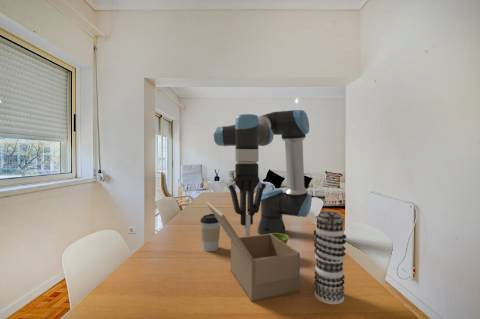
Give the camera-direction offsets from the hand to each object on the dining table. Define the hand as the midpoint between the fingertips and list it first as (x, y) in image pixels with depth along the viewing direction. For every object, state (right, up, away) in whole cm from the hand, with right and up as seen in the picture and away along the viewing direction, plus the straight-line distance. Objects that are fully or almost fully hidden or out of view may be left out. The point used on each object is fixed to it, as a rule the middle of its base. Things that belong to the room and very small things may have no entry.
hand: (246, 234), depth 83 cm
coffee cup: (-15, -16, +31) cm, 38 cm away
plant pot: (+13, -16, +22) cm, 30 cm away
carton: (+5, -16, +2) cm, 17 cm away
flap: (-6, +3, -2) cm, 7 cm away
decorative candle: (+24, -17, -7) cm, 30 cm away
